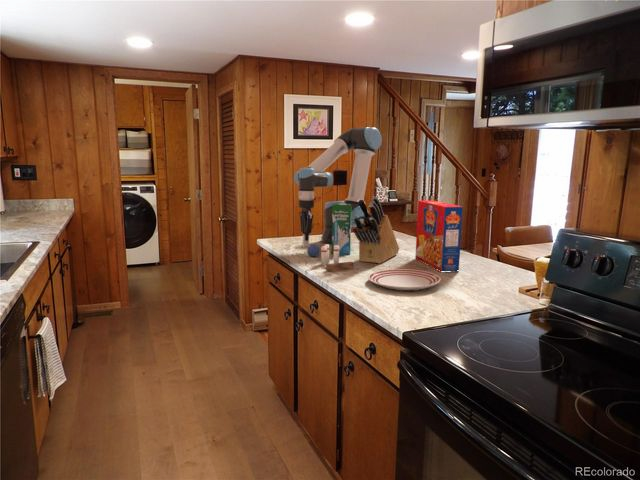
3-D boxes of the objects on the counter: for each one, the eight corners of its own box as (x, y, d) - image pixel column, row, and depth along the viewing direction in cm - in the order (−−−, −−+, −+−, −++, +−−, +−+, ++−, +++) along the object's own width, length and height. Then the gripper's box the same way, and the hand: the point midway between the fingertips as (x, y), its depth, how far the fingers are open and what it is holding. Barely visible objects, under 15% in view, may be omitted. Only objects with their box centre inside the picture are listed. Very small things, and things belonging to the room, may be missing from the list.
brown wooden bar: (351, 268, 205) (351, 261, 204) (353, 269, 203) (353, 262, 202) (326, 270, 200) (326, 263, 199) (328, 271, 198) (328, 264, 197)
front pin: (327, 262, 215) (327, 244, 214) (330, 263, 213) (330, 245, 212) (322, 262, 214) (322, 244, 213) (325, 264, 212) (325, 245, 211)
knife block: (349, 265, 209) (351, 196, 204) (378, 252, 240) (380, 191, 235) (373, 268, 204) (375, 197, 199) (399, 254, 235) (402, 192, 229)
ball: (316, 255, 231) (316, 243, 230) (321, 257, 226) (321, 245, 225) (305, 255, 229) (305, 243, 228) (310, 258, 223) (310, 246, 222)
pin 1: (325, 264, 211) (325, 246, 209) (327, 266, 208) (327, 247, 207) (320, 265, 210) (320, 246, 208) (322, 266, 207) (322, 247, 206)
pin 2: (337, 263, 213) (337, 245, 212) (339, 264, 211) (340, 246, 209) (332, 264, 212) (332, 245, 211) (334, 265, 210) (335, 246, 208)
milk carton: (350, 251, 242) (351, 202, 237) (349, 254, 233) (351, 204, 228) (333, 250, 243) (333, 202, 238) (331, 254, 234) (332, 204, 229)
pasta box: (415, 258, 226) (418, 200, 221) (430, 258, 227) (433, 200, 222) (441, 272, 199) (445, 207, 194) (458, 272, 200) (462, 206, 195)
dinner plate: (366, 293, 169) (366, 284, 168) (368, 274, 196) (369, 266, 195) (444, 296, 165) (445, 287, 165) (436, 277, 192) (436, 269, 191)
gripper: (294, 198, 235) (294, 244, 239) (304, 200, 224) (303, 249, 228) (308, 198, 239) (307, 244, 242) (318, 200, 227) (317, 248, 231)
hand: (305, 246), depth 235 cm, fingers closed
